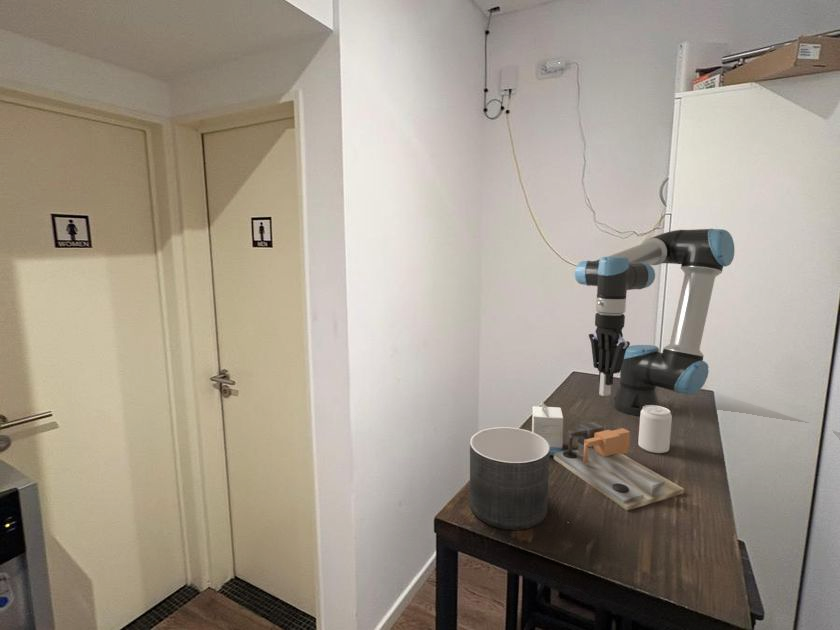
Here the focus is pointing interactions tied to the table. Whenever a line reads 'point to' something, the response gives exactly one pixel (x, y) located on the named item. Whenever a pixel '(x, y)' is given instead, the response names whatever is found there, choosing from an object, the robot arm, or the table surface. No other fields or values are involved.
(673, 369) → the robot arm
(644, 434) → the beverage can
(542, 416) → the ink box
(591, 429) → the board
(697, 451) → the table surface
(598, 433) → the block
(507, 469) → the planter
